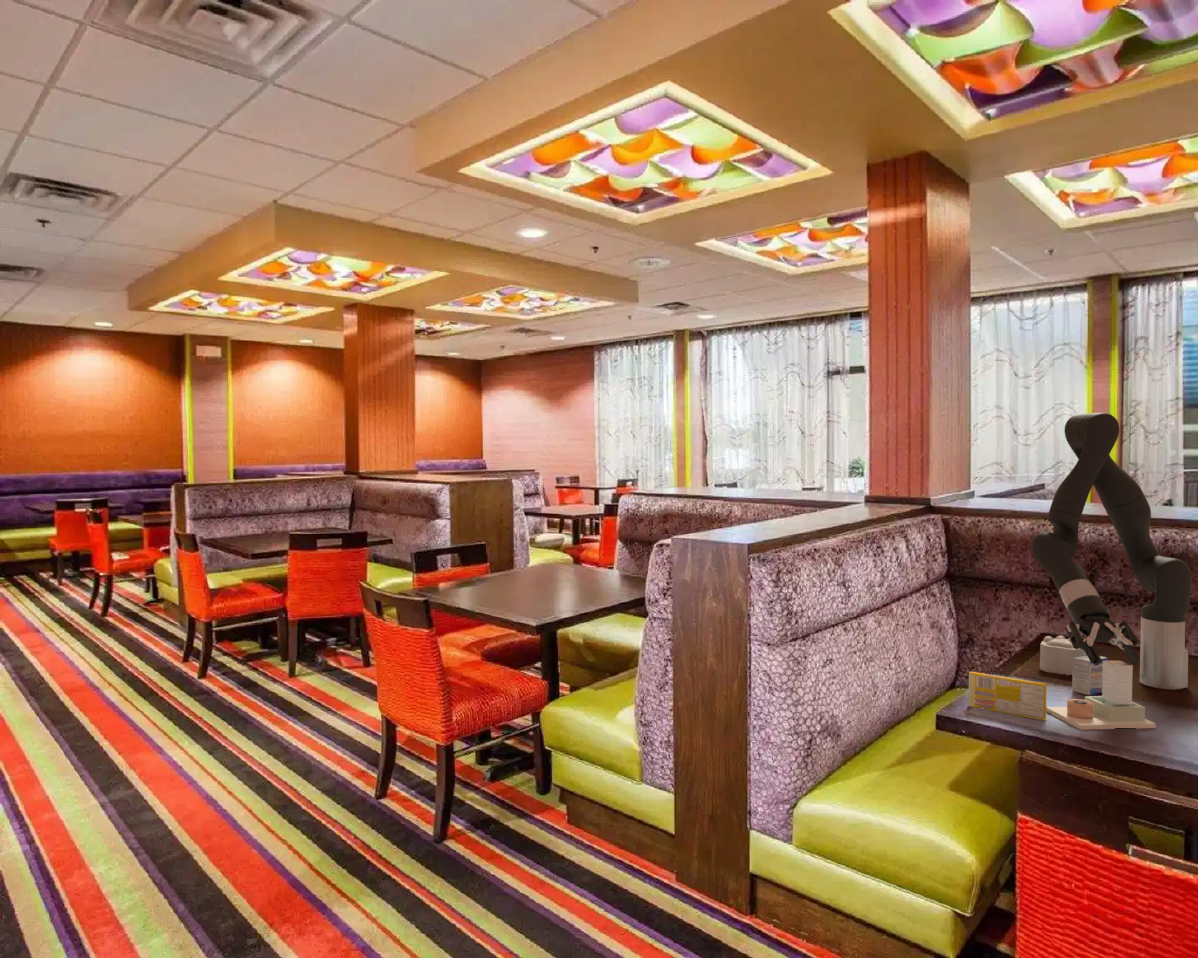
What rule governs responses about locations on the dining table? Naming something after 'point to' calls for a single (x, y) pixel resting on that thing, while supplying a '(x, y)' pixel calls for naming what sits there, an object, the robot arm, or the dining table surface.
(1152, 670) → the robot arm
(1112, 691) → the plain beige rectangular box
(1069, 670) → the lumpy-topped squat cylinder
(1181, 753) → the dining table surface
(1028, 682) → the candy box
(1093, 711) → the organizer
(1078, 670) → the medicine box
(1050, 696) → the dining table surface
